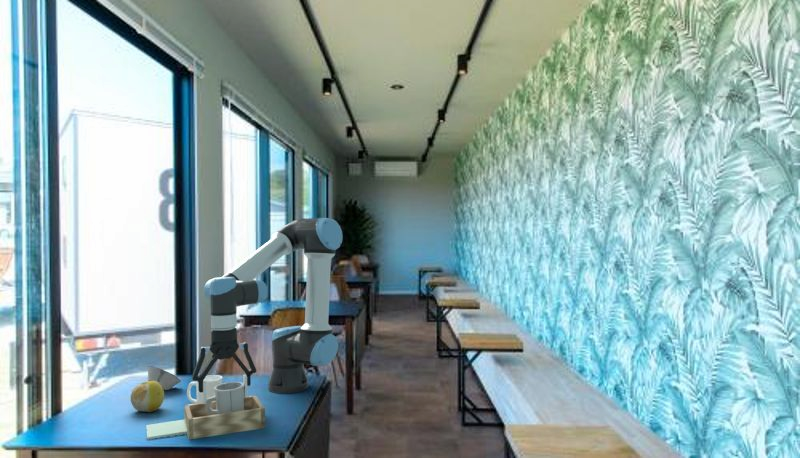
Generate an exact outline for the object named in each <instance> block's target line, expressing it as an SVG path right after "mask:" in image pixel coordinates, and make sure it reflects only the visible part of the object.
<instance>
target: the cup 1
mask: <svg viewBox="0 0 800 458" xmlns="http://www.w3.org/2000/svg"><path fill="white" fill-rule="evenodd" d="M204 380H205V381H206V399H207V398H209V397H212V396H215V393H214V387H216V386H217V385H219V384H223V376H222V375H219V374H210V375H208V374H207V376H206V377H205V379H204ZM192 386H195V387H196V388H195V389H196V399H195V398H192V396H191V390H192ZM186 396H187V397H186V398H187V399H188V401H189V402H190V403H191V404H196V403H203V397H202V392H201V393H200V392H199V388H198V381H191V382H190V383H188V385H187V391H186Z"/></svg>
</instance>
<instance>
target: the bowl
mask: <svg viewBox="0 0 800 458" xmlns="http://www.w3.org/2000/svg"><path fill="white" fill-rule="evenodd" d="M147 381H156V382H158V383H160V385H161V386H162V388H163V390H165V391H169V390H170V389H172V388H173V387H175V386H176V385H178V384H180V383H181V380H180V379H179V377H177V376H176V375H175V374H173V373H171V372H170V371H167V370H164V369H163V368H159V367H156V366H153V365H149V366H147Z"/></svg>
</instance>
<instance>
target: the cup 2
mask: <svg viewBox="0 0 800 458" xmlns="http://www.w3.org/2000/svg"><path fill="white" fill-rule="evenodd" d="M214 393H215V396H212V397H209V398H207V399H206V410H207V412H208V413H209V414H223V413H229V412H236V411H243V410H244V384H243V382H240V381H231V382H224V383H223V382H222V384H219V385H217V386H216V387H214ZM213 401H216V410H213V409H212V408H210V403H211V402H213Z"/></svg>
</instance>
